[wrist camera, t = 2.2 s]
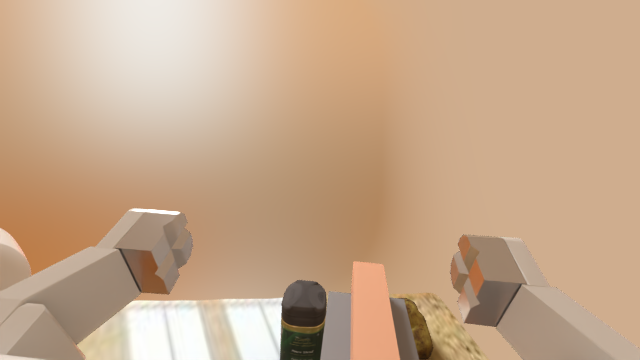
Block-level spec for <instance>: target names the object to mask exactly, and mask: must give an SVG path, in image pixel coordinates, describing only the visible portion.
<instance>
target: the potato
mask: <svg viewBox="0 0 640 360" xmlns="http://www.w3.org/2000/svg"><path fill="white" fill-rule="evenodd" d="M397 299H404V301H405V305H406V309H407V313H408V317H409V321H410V325H411V329H412V333H413V337H414V341H415V345H416V349H417V353H418V357H419V359H420V360H423V359H428V358H429V357H430V355H431V353H432V350H433V345H432V340H431V336H430V333H429V330H428V327H427V324H426V320H425V319H424V316H423V315H422V314H421V313H420V312H419V311H418V308H417V306H416V305H415V303H414V302H413V301H411V300H410V299H407V298H397Z"/></svg>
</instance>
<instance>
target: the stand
mask: <svg viewBox="0 0 640 360" xmlns="http://www.w3.org/2000/svg"><path fill="white" fill-rule="evenodd" d="M389 299H390V305H391V311H392V317H393V322H394V328H395V334H396V339H397V345H398V351H399V356H400V360H419V357H418V353H417V349H416V345H415V341H414V337H413V333H412V329H411V325H410V321H409V317H408V313H407V309H406V305H405V301H404V299H397V298H389ZM350 345H351V294H350V293H341V292H331V291H329V295H328V303H327V311H326V318H325V326H324V334H323V342H322V350H321V358H320V360H350Z"/></svg>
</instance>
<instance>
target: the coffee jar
mask: <svg viewBox="0 0 640 360" xmlns="http://www.w3.org/2000/svg"><path fill="white" fill-rule="evenodd" d="M281 305H282V314H281V315H282V317H281V351H280V360H320V358H321V350H322V342H323V334H324V326H325V318H326V306H327V302H326V292H325V290H324V289H323V288H322V286H321V285H320V284H318V283H317V282H314V281H302V280H297V281H296V282H294V283H292V284H291V285H290V286H289V287H288V288H287V289H286V292H285V293H284V297H283V301H282V304H281Z"/></svg>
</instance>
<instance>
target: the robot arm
mask: <svg viewBox="0 0 640 360" xmlns="http://www.w3.org/2000/svg"><path fill="white" fill-rule="evenodd" d="M186 224H187V219H186V216H185V214H183V213H179V212H171V211H161V210H151V209H150V210H147V209H138V208H133V209H131V210H128V212H127V213H126V214H125V215H124V216H123V217H122V218H121V219H120V220H119V222H118V223H117V224H116V225H115V226H114V227H113V228H112V229H111V230H110V231H109V233H108V234H107V235H106V236H105V237H104V238H103V239H102V240H101V241H100V242H99V243H98V245H97V246H96V247H88V248H86V249H84V250H82V251H80V252H78V253H76V254H74V255H72V256H70V257H68V258H66V259H64V260H62V261H60V262H58V263H56V264H54V265H52V266H50V267H48V268H46V269H44V270H42V271H40V272H38V273H36V274H34V275H32V276H31V269H30V266H29V263H28V261H27V259H26V257H25V255H24V253H23V251H22V250H21V248H20V247H19V245H18V244H17V242H16V241H15V240H14V238H13V237H12V236H11V235H10V234H8V233H7V232H6V231H4V230H3V229H1V228H0V360H86V357H85V355H84V354H83V353H82V351H81V350H80V349H79V348H78V346H77V344H78V343H80V342H81V341H82V340H83V339H85V338H86V337H87V336H88V335H90V334H91V333H92V332H93V331H95V330H96V329H97V328H98V327H100V326H101V325H102V324H104V323H105V322H106V321H107V320H109V319H110V318H111V317H112V316H114V315H115V314H116V313H117V312H119V311H120V310H121V309H122V308H124V307H125V306H126V305H128V304H129V303H130V302H131V301H133V300H134V299H135V298H136V297H138V296H139V295H140V294H141V293H156V294H170V292H171V290H172V288H173V286H174V285H175V283H176V281H177V279H178V278H179V271H178V269H179V268H180V267H182V266H183V265H185V264H186V263H187V261H188V259H189V257H190V256H191V251H192V247H193V244H192V243H193V241H192V236H191V233H190V232H189V231H188V230H187V229H185V228H184V227H185V226H186ZM458 247H459V250H460V251H459V252H457V253H456V254H455V255H454V256H453V258H452V262H451V270H450V274H451V280H452V284H453V288H454V289H456V290H457V291H458V292H459V293H460V296H459V298H458V301H457V302H458V305H459V309H460V312H461V315H462V318H463V322H464V323H468V324H476V325H484V326H492V327H496V329H497V330H498V332H499V333H500V334H501V335H502V336H503V337H504V338H505V340H506V341H507V342H508V343H509V344H510V345H511V346H512V348H513V349H514V350H515V351H516V352H517V353H518V354H519V355H520V357H521V358H522V359H523V360H640V348H638V347H637V346H636V345H634V344H633V343H631V342H630V341H629V340H627V339H626V338H625V337H623V336H622V335H621V334H619V333H618V332H616V331H615V330H614V329H612V328H611V327H610V326H608V325H607V324H605V323H604V322H603V321H601V320H600V319H599V318H597V317H596V316H595V315H593V314H592V313H590V312H589V311H588V310H587V309H585V308H584V307H582V306H581V305H580V304H578V303H577V302H575V301H574V300H573V299H571V298H570V297H569V296H567V295H566V294H565V293H563V292H562V291H561V290H559V289H558V288H557V287H550V286H549V284H548V282H547V280H546V279H545V277H544V275H543V273H542V272H541V270H540V268H539V267H538V265H537V263H536V262H535V260H534V258H533V257H532V255H531V253H530V251H529V250H528V248H527V246H526V245H525V243H524V241H522V240H521V239H520V238H509V237H492V236H476V235H462V236H461V238H460V239H459V242H458ZM140 292H141V293H140Z"/></svg>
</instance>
